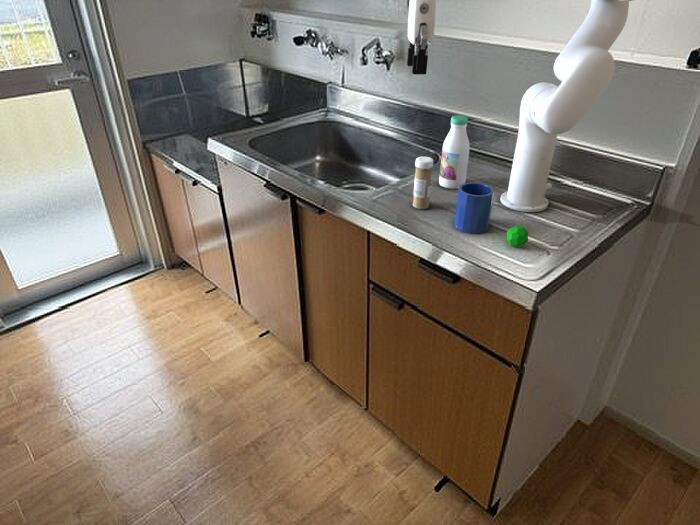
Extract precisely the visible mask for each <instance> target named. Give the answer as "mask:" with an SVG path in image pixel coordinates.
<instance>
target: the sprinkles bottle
mask: <svg viewBox="0 0 700 525" xmlns="http://www.w3.org/2000/svg"><path fill="white" fill-rule="evenodd" d="M414 166H415V172H414V183H413V184H414V185H413V200H412V201H413V202H412V207H413V208H415V209H418V210H425V209H428V208H429V207H430V195H431V185H432V174H433V173H432V171H433V167H434V159H433V158H432V157H429V156H419V157H416V159H415V162H414Z"/></svg>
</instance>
